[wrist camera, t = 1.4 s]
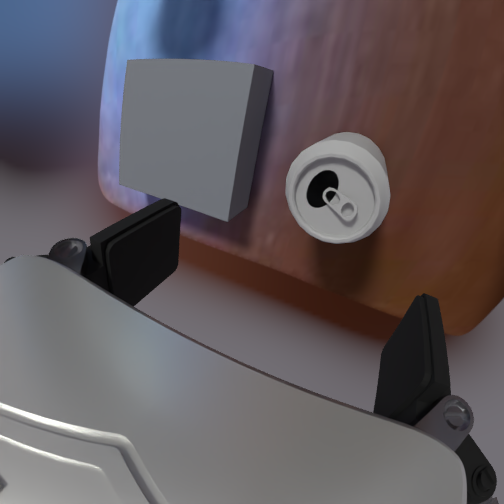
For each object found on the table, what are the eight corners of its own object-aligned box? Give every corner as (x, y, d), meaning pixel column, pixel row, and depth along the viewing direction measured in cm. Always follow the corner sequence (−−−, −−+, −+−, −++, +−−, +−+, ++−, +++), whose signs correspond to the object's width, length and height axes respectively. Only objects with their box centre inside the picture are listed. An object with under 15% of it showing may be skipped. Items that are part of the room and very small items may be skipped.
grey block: (273, 70, 26) (254, 64, 22) (247, 206, 35) (227, 221, 31) (155, 61, 30) (127, 60, 26) (144, 174, 39) (119, 184, 35)
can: (337, 117, 26) (312, 119, 16) (400, 160, 25) (414, 190, 16) (301, 176, 30) (259, 212, 21) (360, 216, 30) (347, 273, 20)
